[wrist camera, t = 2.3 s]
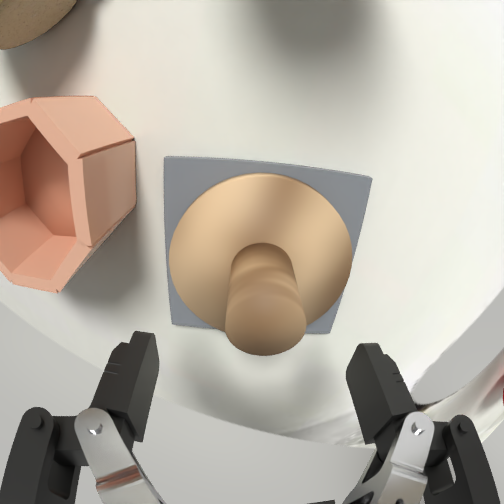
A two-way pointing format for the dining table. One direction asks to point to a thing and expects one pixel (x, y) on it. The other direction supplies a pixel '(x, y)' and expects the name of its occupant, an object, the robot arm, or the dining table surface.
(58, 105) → the bowl
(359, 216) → the mat
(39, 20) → the ceramic mug
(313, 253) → the lid
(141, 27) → the dining table surface
